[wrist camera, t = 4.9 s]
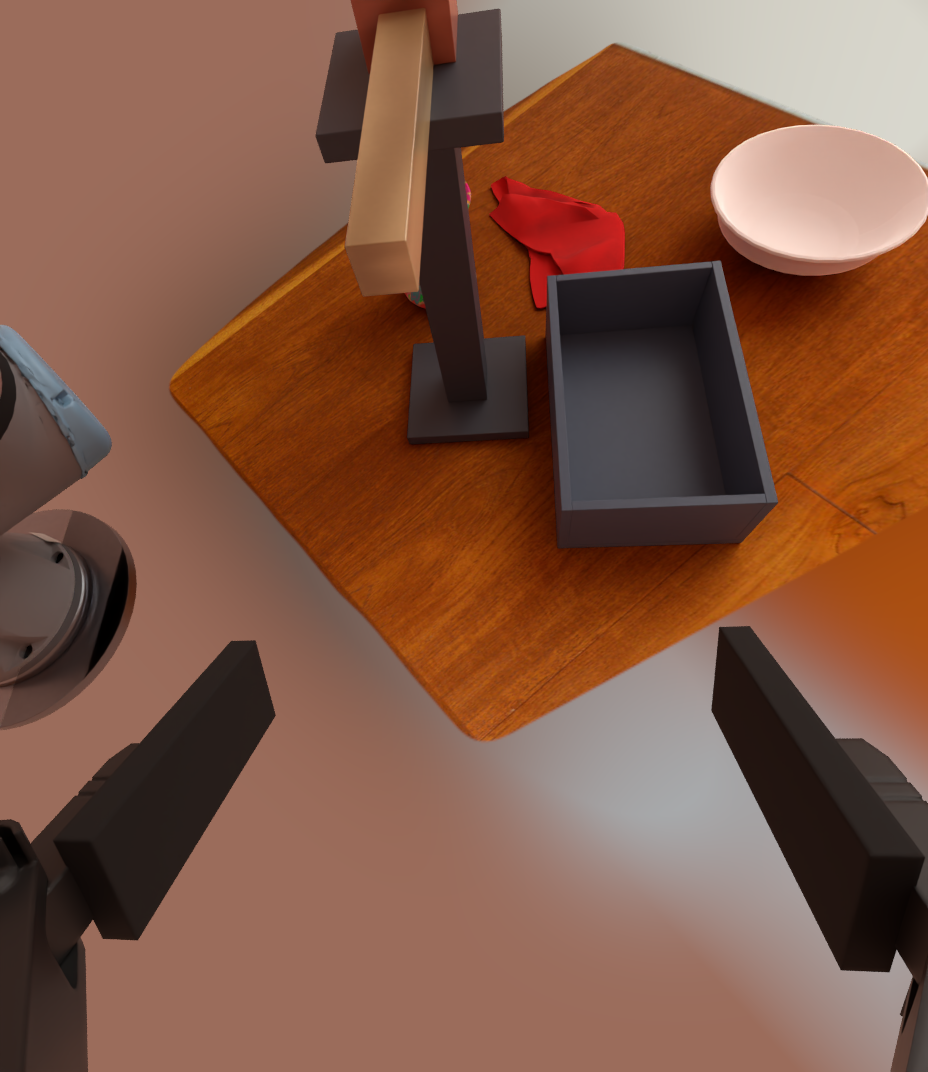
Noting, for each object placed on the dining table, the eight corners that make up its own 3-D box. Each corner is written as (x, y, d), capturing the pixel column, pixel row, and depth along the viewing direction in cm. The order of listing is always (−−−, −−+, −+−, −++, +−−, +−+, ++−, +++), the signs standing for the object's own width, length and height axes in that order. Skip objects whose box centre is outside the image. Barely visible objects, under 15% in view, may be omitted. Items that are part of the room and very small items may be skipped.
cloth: (667, 300, 58) (672, 282, 55) (544, 337, 58) (545, 321, 55) (581, 158, 68) (582, 139, 66) (477, 190, 68) (476, 172, 66)
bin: (557, 548, 48) (561, 510, 41) (545, 336, 58) (547, 275, 51) (741, 543, 46) (778, 502, 39) (697, 324, 56) (720, 260, 49)
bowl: (701, 180, 64) (718, 121, 58) (888, 187, 60) (925, 125, 54) (686, 305, 57) (703, 252, 51) (896, 322, 53) (941, 268, 47)
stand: (409, 444, 54) (294, 149, 28) (415, 351, 59) (321, 25, 33) (528, 438, 53) (522, 121, 27) (525, 343, 58) (517, -4, 32)
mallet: (335, 299, 24) (298, 214, 20) (375, 26, 32) (354, -69, 29) (447, 289, 23) (430, 199, 19) (458, 13, 32) (447, -85, 28)
